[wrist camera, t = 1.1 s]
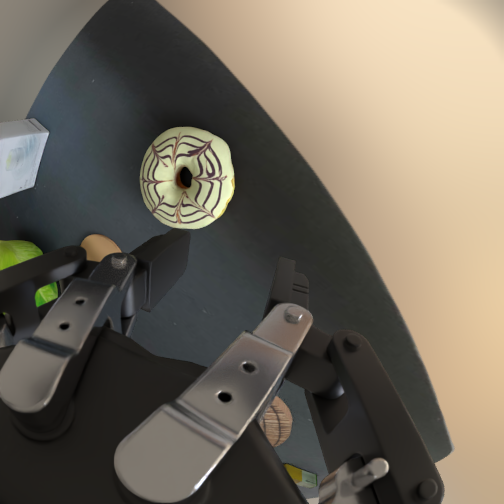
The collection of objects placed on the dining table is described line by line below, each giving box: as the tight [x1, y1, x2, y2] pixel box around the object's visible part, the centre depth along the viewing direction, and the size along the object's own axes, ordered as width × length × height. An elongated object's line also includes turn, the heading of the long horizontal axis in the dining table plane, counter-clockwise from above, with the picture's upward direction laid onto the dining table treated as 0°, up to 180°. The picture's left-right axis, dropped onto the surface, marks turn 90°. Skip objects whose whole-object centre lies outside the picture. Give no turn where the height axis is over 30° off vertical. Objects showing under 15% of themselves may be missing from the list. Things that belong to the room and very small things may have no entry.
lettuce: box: [0, 240, 58, 314], centre depth 34 cm, size 15×20×14 cm
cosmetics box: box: [0, 118, 49, 198], centre depth 27 cm, size 10×6×10 cm, turn 144°
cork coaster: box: [80, 234, 122, 262], centre depth 36 cm, size 10×10×1 cm
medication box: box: [284, 464, 317, 488], centre depth 49 cm, size 12×3×4 cm, turn 49°
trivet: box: [260, 396, 292, 447], centre depth 43 cm, size 25×25×2 cm
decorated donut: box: [140, 127, 235, 229], centre depth 27 cm, size 10×11×4 cm
